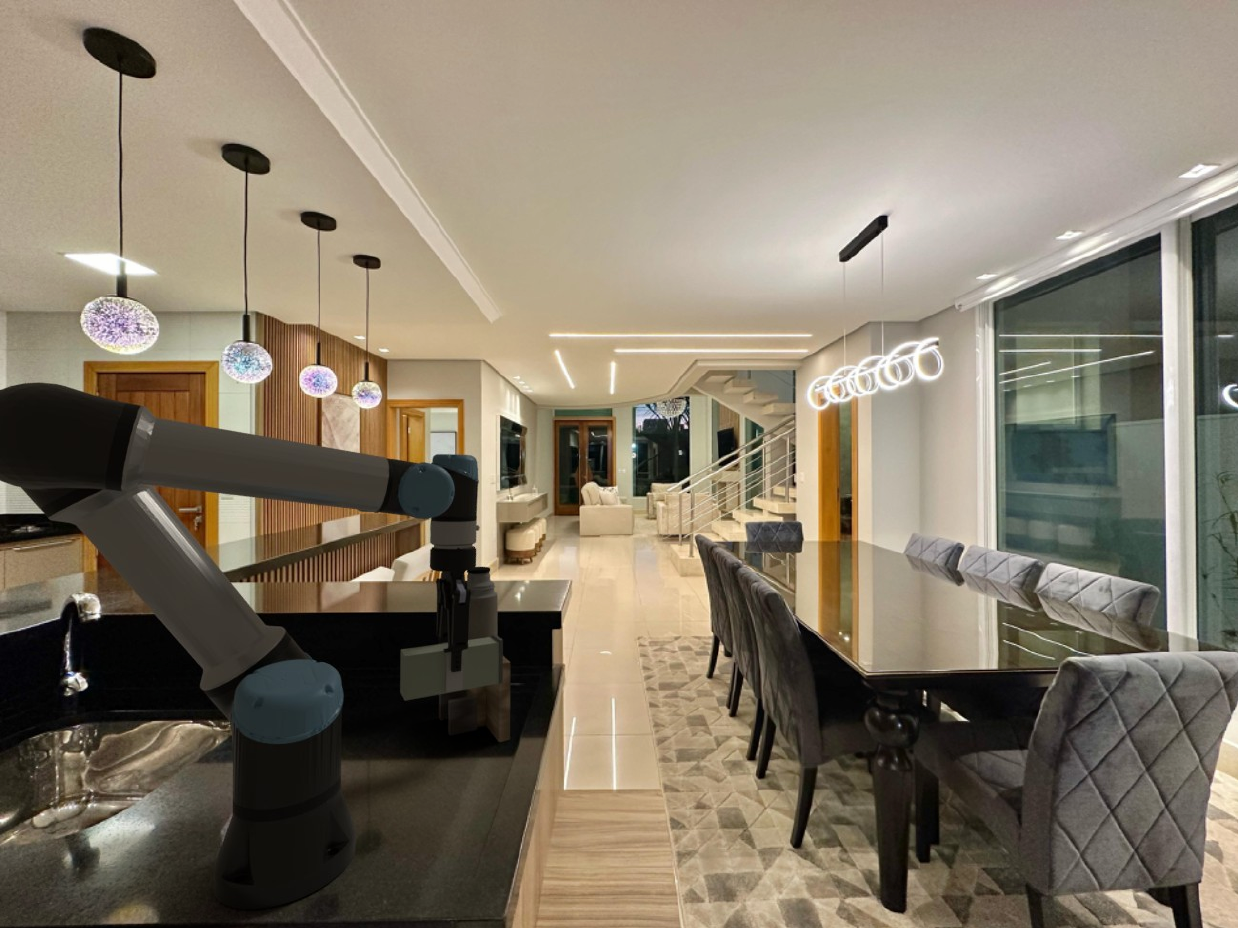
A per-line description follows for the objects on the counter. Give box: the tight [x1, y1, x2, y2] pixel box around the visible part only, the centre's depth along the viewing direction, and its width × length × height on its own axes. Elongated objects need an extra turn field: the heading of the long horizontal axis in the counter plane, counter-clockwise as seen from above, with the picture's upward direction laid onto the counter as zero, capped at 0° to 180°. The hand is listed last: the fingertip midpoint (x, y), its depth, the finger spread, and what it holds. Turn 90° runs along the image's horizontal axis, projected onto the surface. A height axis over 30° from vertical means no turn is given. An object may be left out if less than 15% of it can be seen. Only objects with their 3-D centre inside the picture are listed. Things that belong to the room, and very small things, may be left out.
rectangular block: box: [399, 634, 504, 702], centre depth 97 cm, size 16×4×7 cm, turn 120°
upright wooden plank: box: [438, 655, 511, 743], centre depth 110 cm, size 9×16×14 cm, turn 30°
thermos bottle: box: [466, 566, 499, 640], centre depth 124 cm, size 8×8×28 cm
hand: (450, 685), depth 97 cm, fingers closed on rectangular block, 4 cm apart
